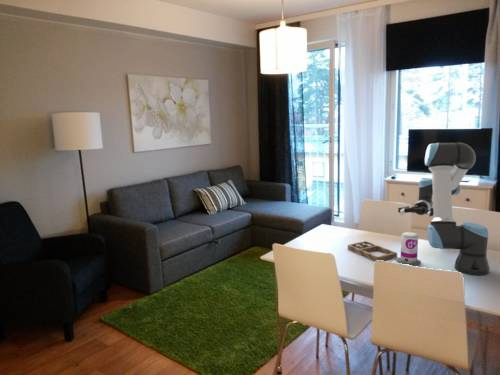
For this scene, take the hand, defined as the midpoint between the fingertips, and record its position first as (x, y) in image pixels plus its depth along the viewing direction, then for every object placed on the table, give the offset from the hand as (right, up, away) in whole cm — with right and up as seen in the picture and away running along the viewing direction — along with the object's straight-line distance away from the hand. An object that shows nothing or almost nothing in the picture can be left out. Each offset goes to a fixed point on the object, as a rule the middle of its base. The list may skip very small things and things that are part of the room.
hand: (414, 214), depth 213 cm
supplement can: (-5, -25, -4) cm, 25 cm away
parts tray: (-20, -22, +10) cm, 32 cm away
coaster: (-5, -25, -5) cm, 26 cm away
